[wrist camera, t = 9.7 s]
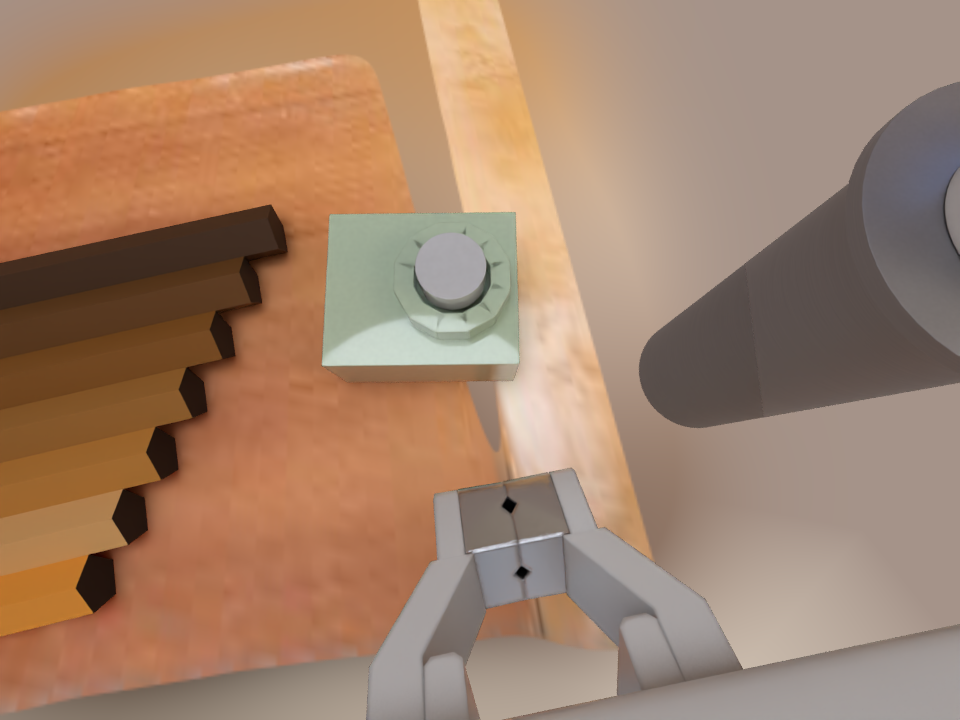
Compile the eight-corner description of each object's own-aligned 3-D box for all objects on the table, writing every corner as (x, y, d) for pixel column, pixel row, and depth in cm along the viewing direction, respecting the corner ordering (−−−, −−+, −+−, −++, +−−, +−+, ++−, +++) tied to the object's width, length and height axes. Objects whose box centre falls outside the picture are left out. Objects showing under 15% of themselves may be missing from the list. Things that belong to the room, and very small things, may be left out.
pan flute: (281, 218, 40) (-49, 290, 39) (263, 195, 37) (-99, 273, 35) (339, 548, 35) (-37, 643, 34) (324, 557, 32) (-94, 662, 30)
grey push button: (485, 246, 31) (485, 231, 29) (486, 310, 31) (486, 299, 28) (419, 247, 31) (415, 232, 29) (418, 310, 30) (414, 299, 28)
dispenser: (510, 251, 39) (517, 197, 32) (513, 380, 37) (522, 357, 29) (352, 252, 39) (320, 199, 32) (347, 382, 37) (311, 360, 29)
